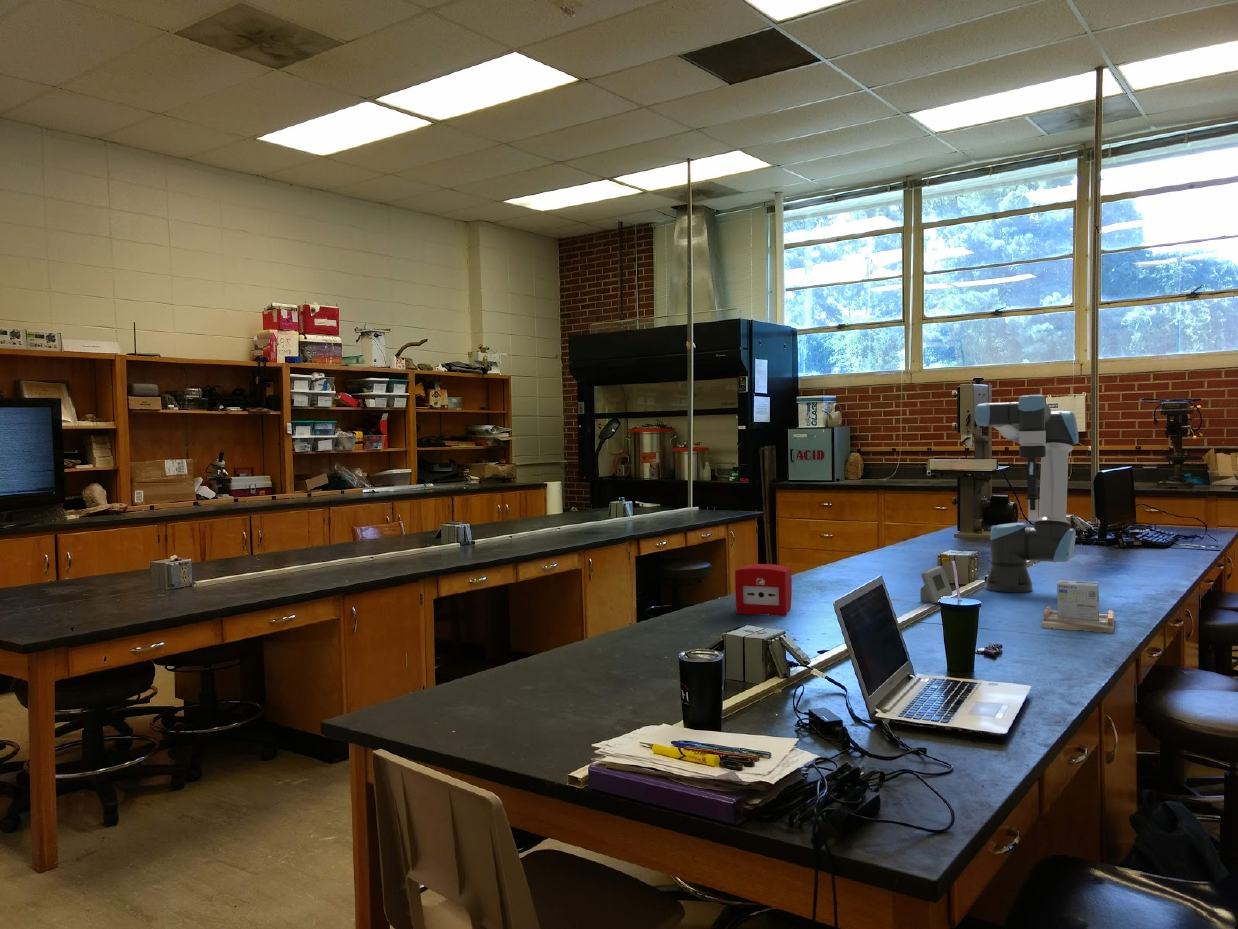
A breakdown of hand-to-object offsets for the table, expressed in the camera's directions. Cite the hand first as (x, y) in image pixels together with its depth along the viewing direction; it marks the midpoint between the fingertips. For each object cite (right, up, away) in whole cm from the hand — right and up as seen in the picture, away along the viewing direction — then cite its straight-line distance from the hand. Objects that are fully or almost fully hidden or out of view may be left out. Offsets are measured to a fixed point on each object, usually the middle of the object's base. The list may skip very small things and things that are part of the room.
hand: (1033, 520), depth 275 cm
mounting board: (+5, -29, -18) cm, 35 cm away
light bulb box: (+5, -28, -18) cm, 34 cm away
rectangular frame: (+5, -28, -18) cm, 33 cm away
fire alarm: (-82, -31, +12) cm, 88 cm away
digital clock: (-22, -29, +22) cm, 42 cm away
